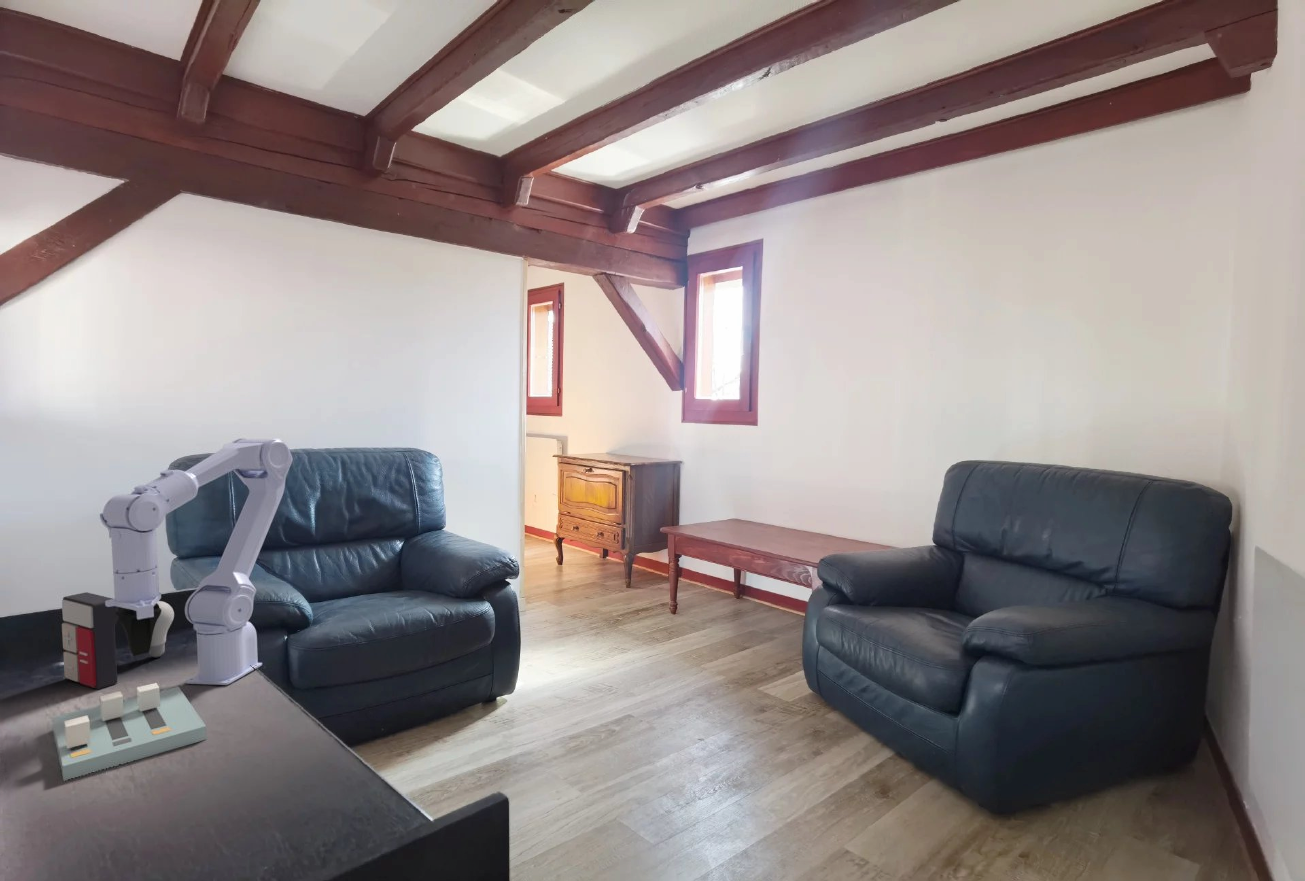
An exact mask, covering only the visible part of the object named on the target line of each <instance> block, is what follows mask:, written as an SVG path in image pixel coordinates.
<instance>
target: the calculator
mask: <svg viewBox="0 0 1305 881" xmlns="http://www.w3.org/2000/svg"><path fill="white" fill-rule="evenodd" d="M111 599H114V598H113V597H109V596H108V597H107V596H104V595H98V594H95V593H91V592H85V591H84V592H81V593H76V594H72V595H65V596H63V597H62V600H61V610H62V620H63V622H62V623H61V633H62V634H61V635H62V648H63V650H65V651H63V652H62V653H63V666H64V667H63V669H64V671H63V672H64V678H65V679H67V680H70V681H74V682H76V683H78V684H82V685H85V686H87V687H91V688H94V689H96V690H100V689H102V688H106V687H110V686H113V685H116V684H117V683H118V670H117V668H118V667H117V666H118V665H117V653H116V651H117V650H116V631H115V629H116V628H115V626H116V624H117V622H118V621H119V619H118V618H117V616H116V615H115V612H116V611H119V609H118V607H117V606H111V607H107V606H106V605H105V601H106V600H111Z"/></svg>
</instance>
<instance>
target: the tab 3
mask: <svg viewBox="0 0 1305 881" xmlns="http://www.w3.org/2000/svg"><path fill="white" fill-rule="evenodd" d="M159 691H160V686H159V685H158V683H157V682H154V683H150V684H146V685H141V686H137V687H136V697H137V703H138V708H139V710H140V712H141V711H144V710H148V709H152V708H156V707H160V693H159Z"/></svg>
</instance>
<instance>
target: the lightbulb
mask: <svg viewBox="0 0 1305 881" xmlns="http://www.w3.org/2000/svg"><path fill="white" fill-rule="evenodd" d="M157 604H158V605H159V608H160V609H161V610H162V611H161V614H160V616H159V618H158V620H157V622H156V624H155V627H154V631H153V635H152V641H151V646H150V650H149V653H148V656H150V657H153V658H160V657H161V655H163V654H165V651H166V650H165V649H166V647H165V646H166V645H165V643H166V642H167V634H168V631H169V629H170V627H171V625H172V623H173V621H174V618H175V611H174V609H173V607H172V606H171V605H170V604H169V603H167V602H166V601H162V600H159V601H158V602H157Z"/></svg>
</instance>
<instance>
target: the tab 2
mask: <svg viewBox="0 0 1305 881" xmlns="http://www.w3.org/2000/svg"><path fill="white" fill-rule="evenodd" d="M123 700H124V696H123V693H122V692H121V690H120V691H116V692H112V693H108V694H104V695H100V696H99V706H100V711H101V718H102V720H103V721H105V720H109V719H113V718H117V717H121V716H124V708H123Z"/></svg>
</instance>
